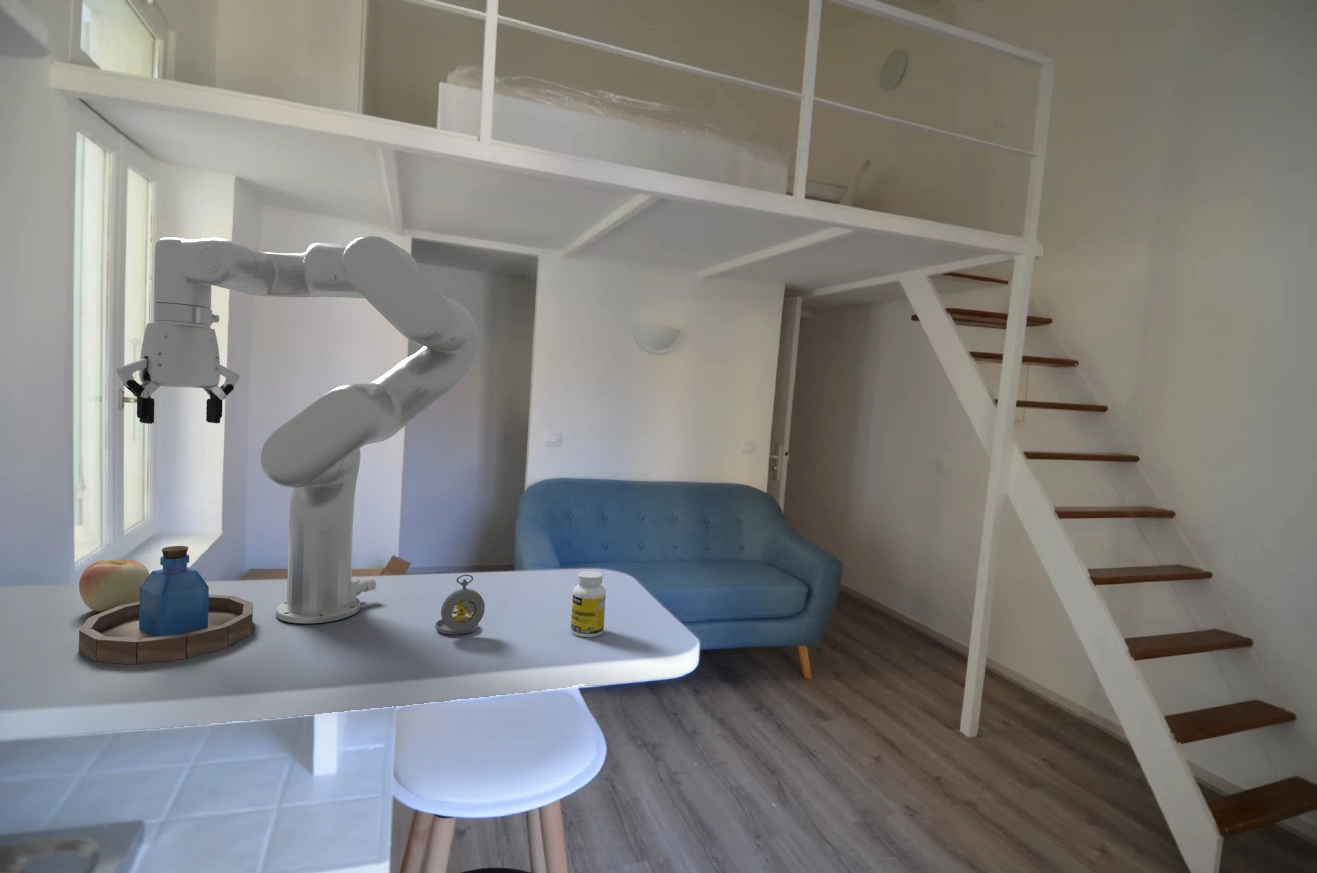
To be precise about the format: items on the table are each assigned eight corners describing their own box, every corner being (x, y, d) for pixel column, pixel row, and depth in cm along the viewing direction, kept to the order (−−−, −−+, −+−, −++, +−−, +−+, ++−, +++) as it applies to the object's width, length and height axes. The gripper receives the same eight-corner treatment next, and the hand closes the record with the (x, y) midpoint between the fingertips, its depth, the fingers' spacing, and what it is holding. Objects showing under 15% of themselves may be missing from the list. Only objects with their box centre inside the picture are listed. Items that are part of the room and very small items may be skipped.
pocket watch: (455, 619, 111) (458, 560, 111) (495, 630, 108) (498, 569, 107) (418, 633, 104) (420, 571, 103) (459, 645, 100) (462, 580, 100)
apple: (68, 611, 104) (68, 561, 104) (132, 597, 112) (133, 551, 112) (98, 623, 100) (98, 571, 100) (162, 607, 108) (163, 559, 108)
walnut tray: (210, 604, 111) (210, 587, 111) (279, 632, 101) (279, 613, 101) (56, 639, 94) (56, 618, 93) (121, 676, 84) (121, 653, 83)
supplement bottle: (564, 634, 107) (567, 575, 107) (580, 624, 112) (583, 567, 112) (594, 640, 105) (597, 580, 105) (609, 630, 110) (612, 572, 110)
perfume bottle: (208, 627, 98) (209, 548, 98) (160, 639, 93) (161, 555, 92) (186, 618, 102) (187, 541, 101) (138, 629, 96) (140, 548, 95)
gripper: (227, 324, 117) (225, 421, 118) (107, 310, 102) (106, 421, 103) (250, 324, 113) (248, 424, 114) (130, 309, 98) (128, 425, 99)
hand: (181, 422), depth 108 cm, fingers open, 9 cm apart
